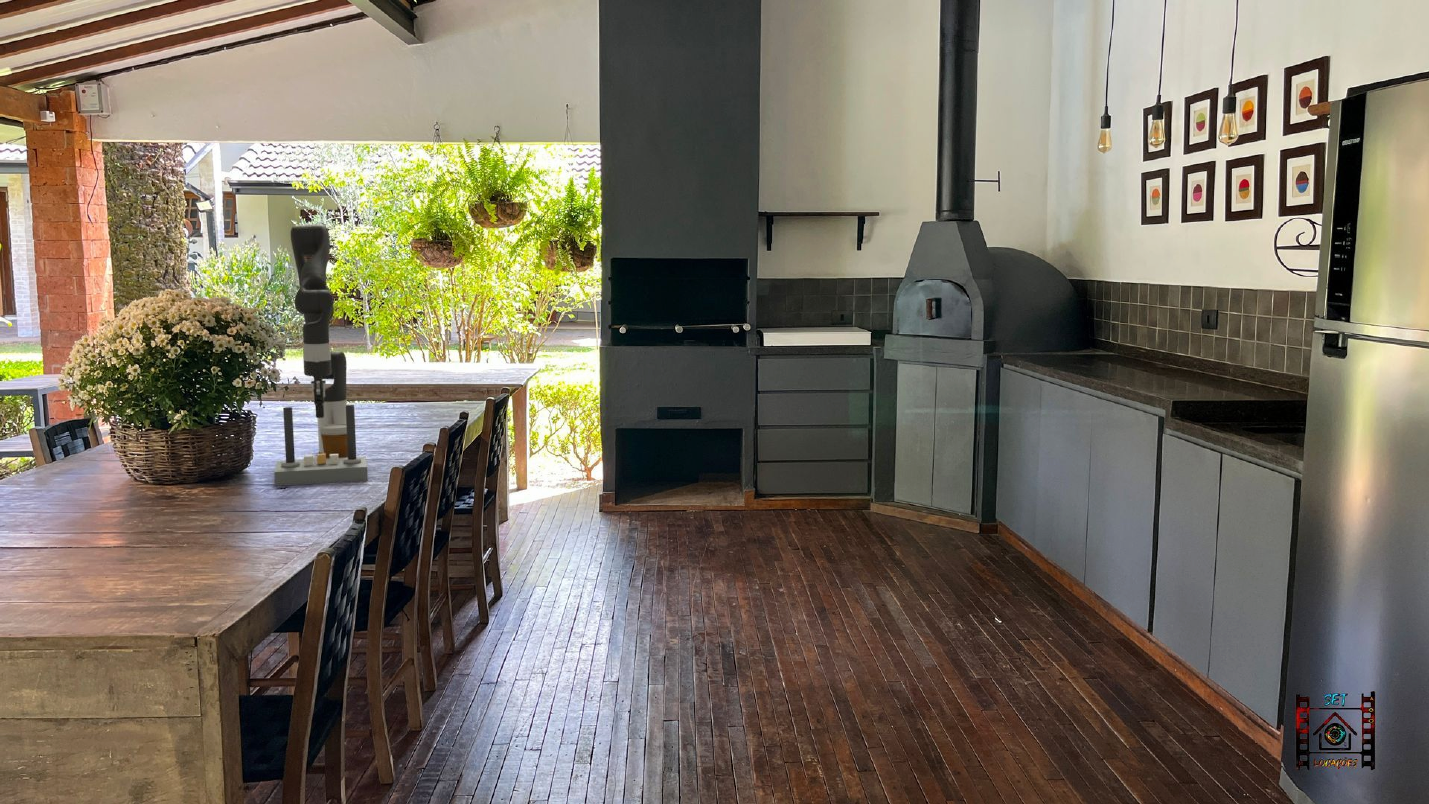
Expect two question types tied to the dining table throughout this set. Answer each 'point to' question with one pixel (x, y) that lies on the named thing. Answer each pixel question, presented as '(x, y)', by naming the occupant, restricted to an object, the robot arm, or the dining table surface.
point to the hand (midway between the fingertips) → (320, 417)
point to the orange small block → (321, 458)
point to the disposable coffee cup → (334, 439)
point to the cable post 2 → (351, 436)
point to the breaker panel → (320, 471)
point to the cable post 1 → (289, 439)
